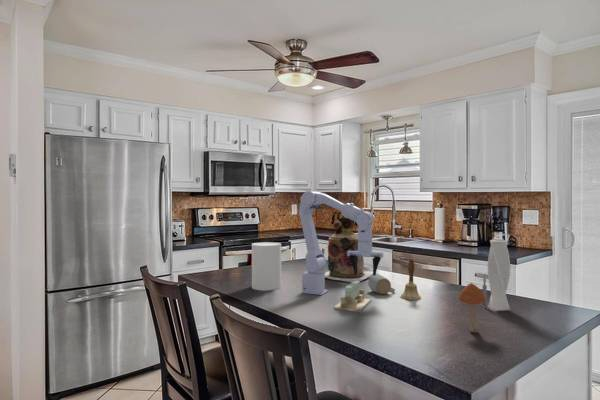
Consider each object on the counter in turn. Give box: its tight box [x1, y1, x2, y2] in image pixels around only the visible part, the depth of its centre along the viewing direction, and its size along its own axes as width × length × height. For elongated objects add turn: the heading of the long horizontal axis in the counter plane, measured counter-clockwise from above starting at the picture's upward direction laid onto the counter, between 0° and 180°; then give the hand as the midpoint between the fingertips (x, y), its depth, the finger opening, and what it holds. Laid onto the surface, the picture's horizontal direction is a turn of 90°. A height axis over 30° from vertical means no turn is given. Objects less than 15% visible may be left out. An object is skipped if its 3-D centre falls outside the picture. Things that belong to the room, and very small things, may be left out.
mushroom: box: [457, 282, 486, 333], centre depth 123 cm, size 8×8×15 cm
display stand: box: [333, 288, 372, 313], centre depth 154 cm, size 10×16×4 cm, turn 157°
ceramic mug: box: [367, 273, 396, 295], centre depth 173 cm, size 11×8×8 cm
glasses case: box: [344, 281, 361, 298], centre depth 153 cm, size 2×12×5 cm, turn 157°
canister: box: [251, 241, 282, 292], centre depth 184 cm, size 14×14×20 cm
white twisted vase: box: [481, 233, 511, 312], centre depth 148 cm, size 8×8×28 cm
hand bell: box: [400, 258, 422, 301], centre depth 164 cm, size 8×8×16 cm
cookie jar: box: [325, 216, 373, 283], centre depth 207 cm, size 25×25×32 cm
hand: (365, 274), depth 163 cm, fingers open, 7 cm apart
